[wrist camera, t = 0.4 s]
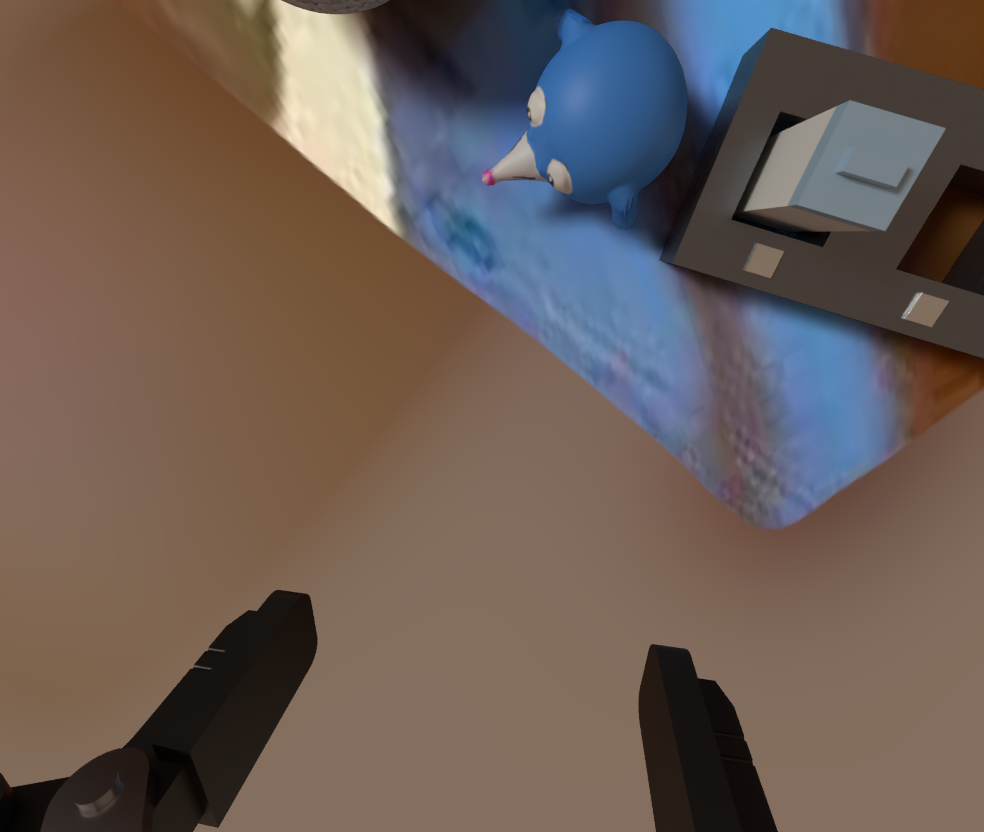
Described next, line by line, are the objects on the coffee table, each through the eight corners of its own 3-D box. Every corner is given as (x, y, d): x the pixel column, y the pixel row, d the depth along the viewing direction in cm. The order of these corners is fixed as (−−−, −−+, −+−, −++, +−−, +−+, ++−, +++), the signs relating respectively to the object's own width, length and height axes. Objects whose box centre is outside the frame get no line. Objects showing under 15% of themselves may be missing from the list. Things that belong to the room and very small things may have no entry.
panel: (742, 55, 27) (773, 26, 23) (1072, 152, 26) (1160, 138, 23) (659, 259, 32) (672, 263, 28) (937, 344, 31) (990, 360, 27)
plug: (756, 142, 28) (858, 96, 19) (821, 161, 28) (957, 125, 19) (725, 213, 30) (803, 204, 20) (786, 231, 30) (894, 231, 20)
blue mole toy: (457, 94, 30) (421, 45, 22) (638, -7, 27) (669, -105, 19) (523, 270, 33) (511, 282, 26) (689, 201, 30) (733, 190, 22)
